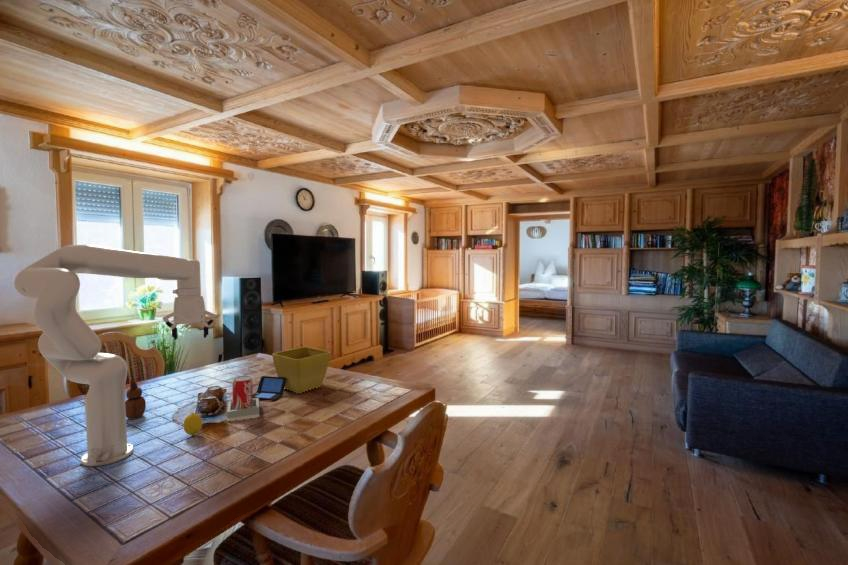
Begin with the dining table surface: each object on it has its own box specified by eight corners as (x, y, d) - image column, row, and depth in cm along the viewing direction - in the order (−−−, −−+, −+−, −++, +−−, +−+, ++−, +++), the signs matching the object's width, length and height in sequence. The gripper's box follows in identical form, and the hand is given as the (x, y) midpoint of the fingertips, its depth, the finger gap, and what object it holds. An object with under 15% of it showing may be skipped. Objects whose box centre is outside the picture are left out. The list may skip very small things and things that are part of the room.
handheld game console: (247, 400, 171) (246, 383, 171) (261, 391, 182) (261, 375, 181) (274, 402, 169) (274, 384, 168) (287, 393, 179) (287, 377, 179)
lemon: (199, 430, 141) (199, 408, 140) (204, 435, 137) (204, 412, 136) (181, 435, 137) (181, 412, 136) (186, 441, 133) (185, 417, 132)
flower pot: (305, 379, 200) (305, 345, 199) (331, 386, 189) (331, 351, 187) (271, 389, 184) (271, 353, 183) (297, 398, 173) (297, 359, 172)
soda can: (229, 411, 156) (228, 378, 155) (248, 406, 161) (247, 374, 160) (237, 416, 151) (236, 382, 150) (256, 411, 156) (255, 378, 155)
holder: (259, 417, 152) (259, 408, 152) (227, 422, 148) (226, 412, 148) (258, 405, 164) (258, 397, 164) (228, 409, 160) (228, 400, 160)
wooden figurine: (133, 421, 148) (131, 381, 147) (120, 420, 149) (118, 380, 148) (149, 414, 154) (148, 376, 153) (137, 413, 156) (135, 375, 155)
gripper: (159, 294, 142) (161, 341, 143) (214, 292, 149) (215, 338, 150) (163, 292, 149) (165, 337, 150) (216, 291, 156) (217, 334, 157)
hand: (190, 338), depth 150 cm, fingers open, 9 cm apart
